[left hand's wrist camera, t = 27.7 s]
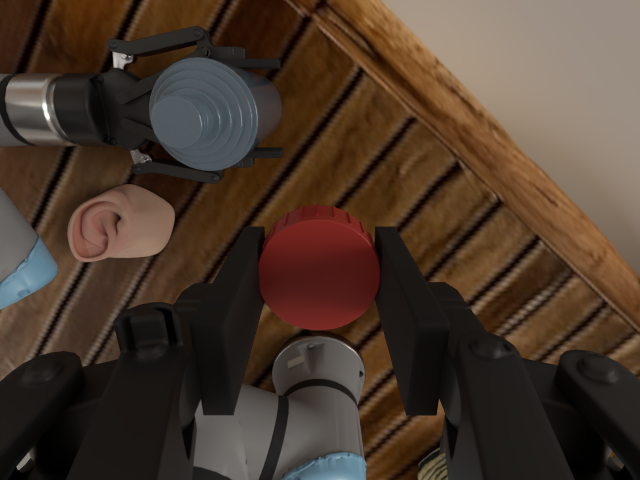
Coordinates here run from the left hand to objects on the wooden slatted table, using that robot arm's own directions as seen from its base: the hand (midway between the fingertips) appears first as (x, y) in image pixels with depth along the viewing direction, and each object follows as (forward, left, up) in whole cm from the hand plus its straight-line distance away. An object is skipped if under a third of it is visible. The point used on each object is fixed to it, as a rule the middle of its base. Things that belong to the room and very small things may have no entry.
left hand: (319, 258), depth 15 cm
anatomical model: (-25, +16, -36) cm, 46 cm away
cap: (0, 0, +2) cm, 2 cm away
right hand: (+1, +6, -29) cm, 30 cm away
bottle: (-2, +10, -36) cm, 37 cm away
